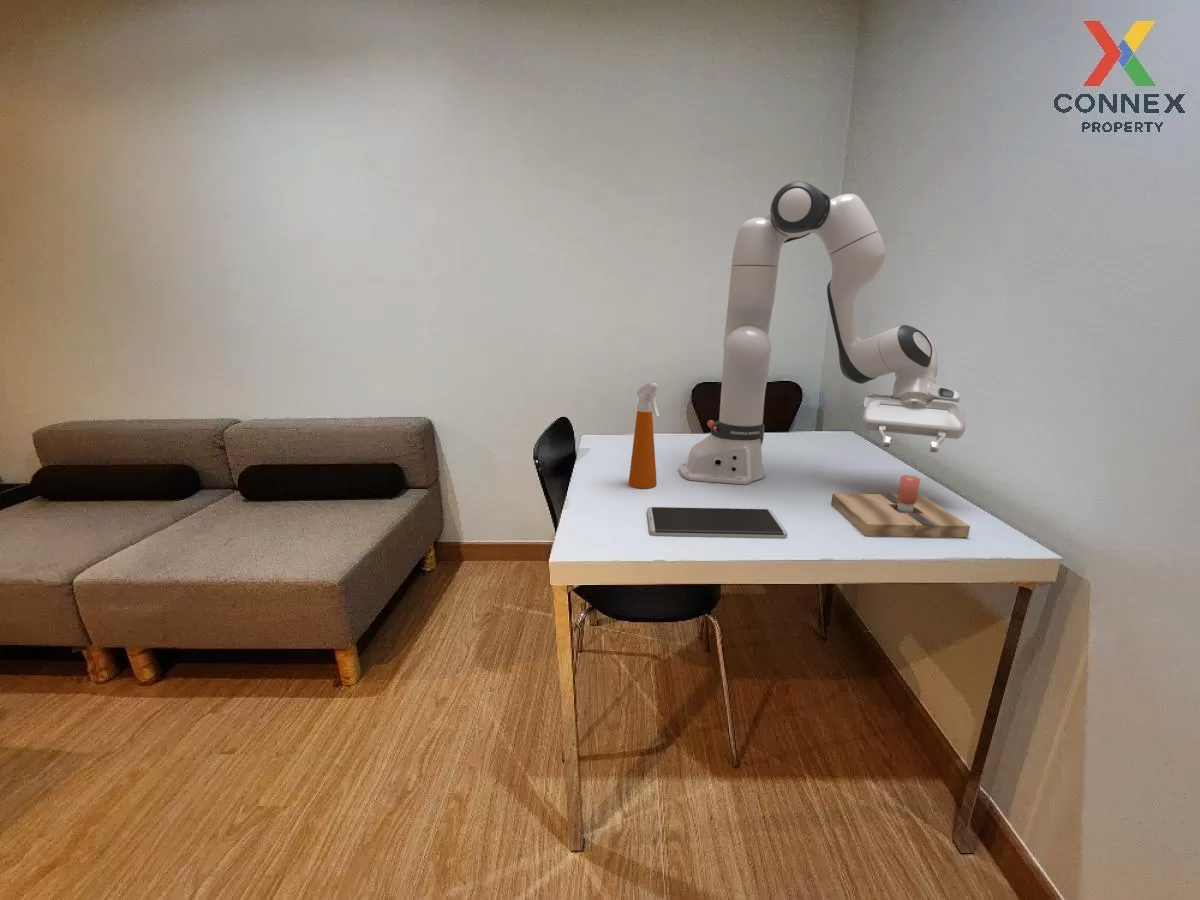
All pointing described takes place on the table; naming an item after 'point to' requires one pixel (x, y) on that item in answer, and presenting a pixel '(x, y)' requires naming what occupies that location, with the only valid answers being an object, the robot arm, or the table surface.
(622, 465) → the table surface
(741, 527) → the smartphone
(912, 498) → the red white cylinder
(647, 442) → the spray bottle
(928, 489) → the table surface
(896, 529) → the board
